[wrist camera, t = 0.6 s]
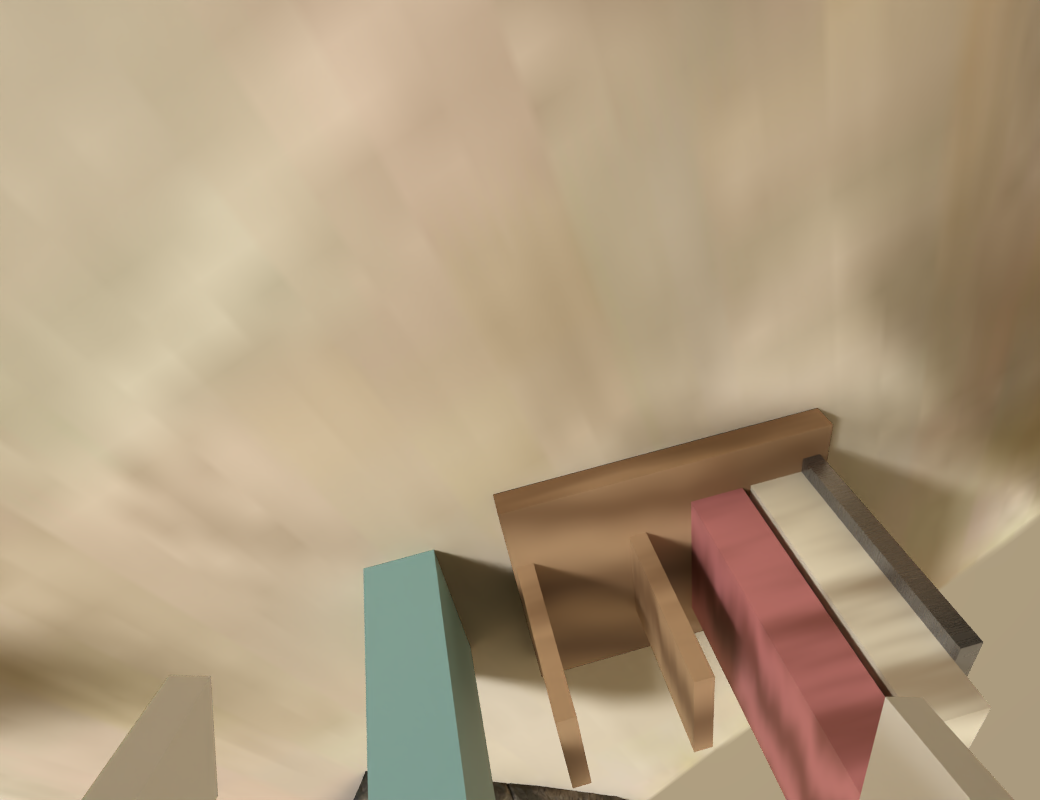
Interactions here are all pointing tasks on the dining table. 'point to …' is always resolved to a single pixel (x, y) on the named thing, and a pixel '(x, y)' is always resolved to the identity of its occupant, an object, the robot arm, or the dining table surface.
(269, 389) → the dining table surface
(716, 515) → the book rack
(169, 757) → the robot arm
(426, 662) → the book
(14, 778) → the dining table surface
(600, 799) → the stone slab
